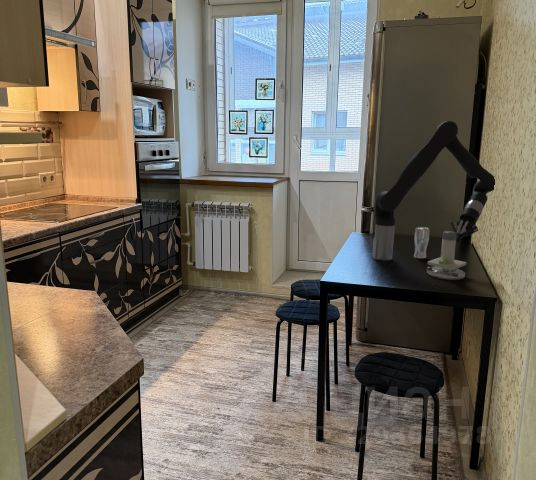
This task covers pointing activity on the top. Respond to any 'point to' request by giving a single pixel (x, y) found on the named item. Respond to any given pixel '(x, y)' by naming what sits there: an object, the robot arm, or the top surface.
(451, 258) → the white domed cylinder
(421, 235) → the beer glass
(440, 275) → the base
